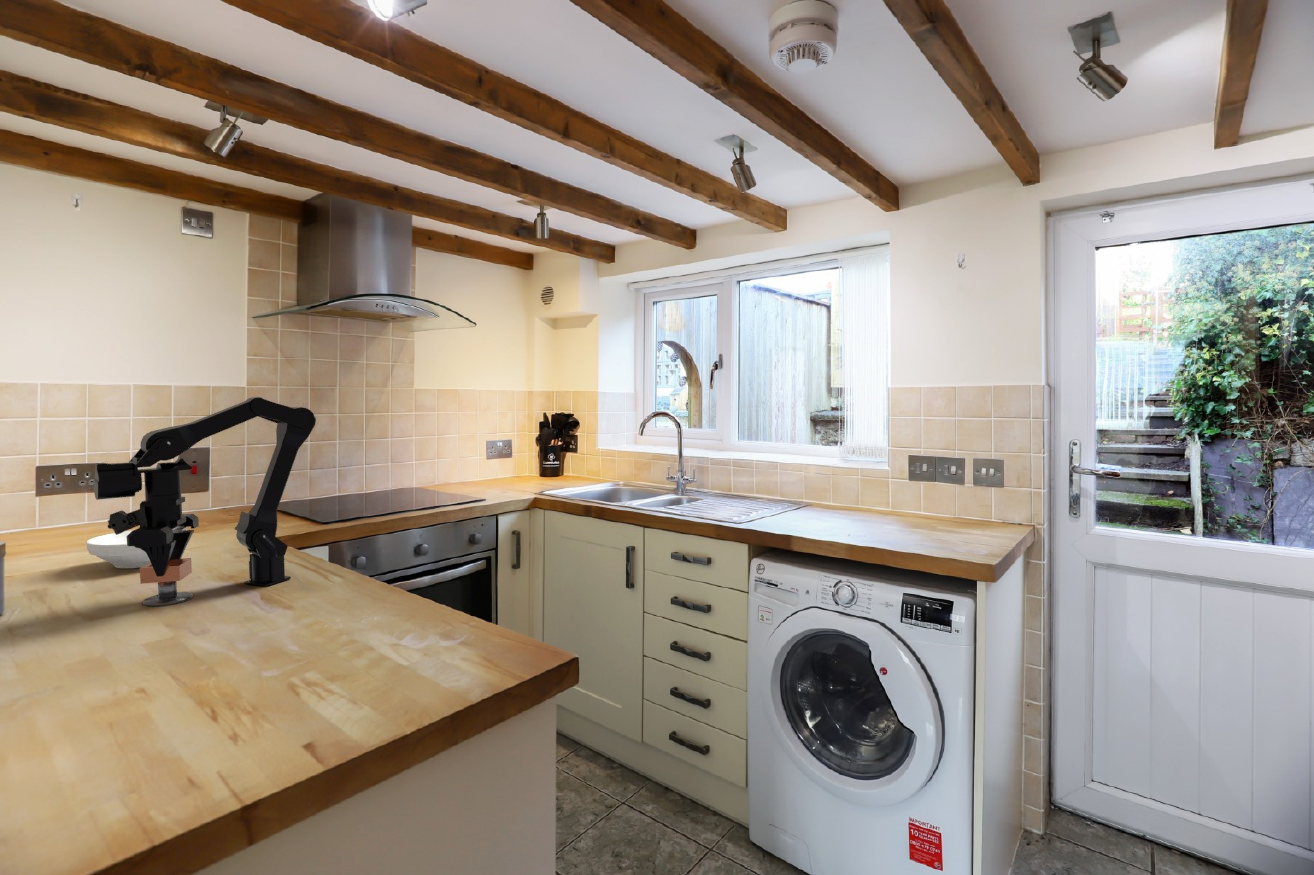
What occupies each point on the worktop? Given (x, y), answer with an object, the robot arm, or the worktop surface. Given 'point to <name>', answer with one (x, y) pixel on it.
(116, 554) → the bowl
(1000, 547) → the worktop surface
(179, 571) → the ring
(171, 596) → the disc with centre peg
